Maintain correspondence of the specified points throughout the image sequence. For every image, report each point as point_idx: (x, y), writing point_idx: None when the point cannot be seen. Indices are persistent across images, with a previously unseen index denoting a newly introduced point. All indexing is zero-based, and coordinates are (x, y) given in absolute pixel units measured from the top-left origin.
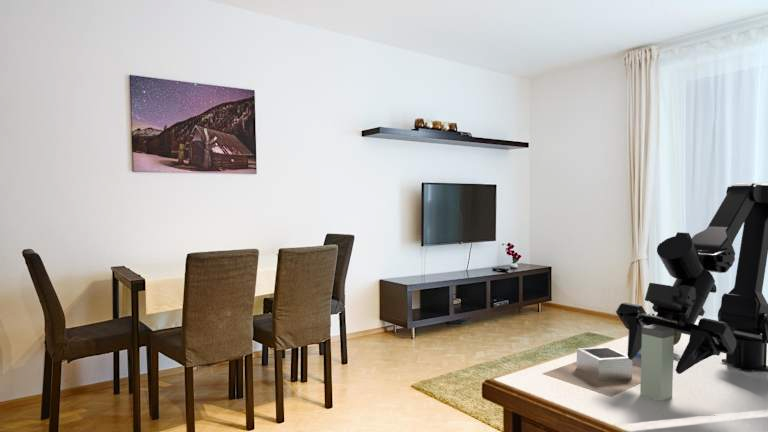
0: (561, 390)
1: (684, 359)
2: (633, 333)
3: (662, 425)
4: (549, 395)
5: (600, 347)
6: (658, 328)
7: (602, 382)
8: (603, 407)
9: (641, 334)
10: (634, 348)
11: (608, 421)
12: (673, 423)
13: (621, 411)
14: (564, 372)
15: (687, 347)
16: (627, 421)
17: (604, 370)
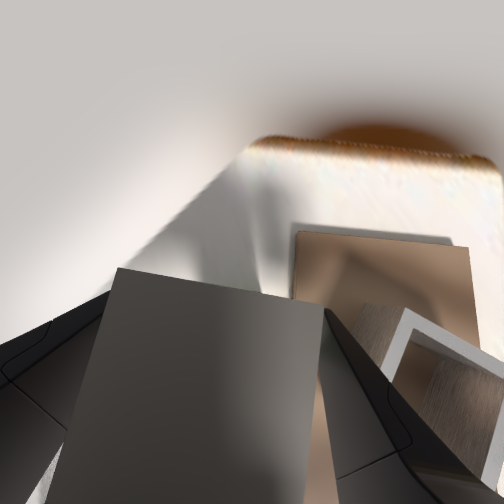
0: (389, 218)
1: (95, 298)
2: (397, 421)
3: (189, 202)
4: (386, 179)
5: (494, 472)
6: (183, 373)
7: (353, 299)
8: (293, 201)
9: (370, 497)
10: (331, 352)
11: (260, 153)
12: (177, 225)
13: (263, 207)
14: (445, 293)
15: (39, 352)
16: (238, 175)
17: (374, 321)
